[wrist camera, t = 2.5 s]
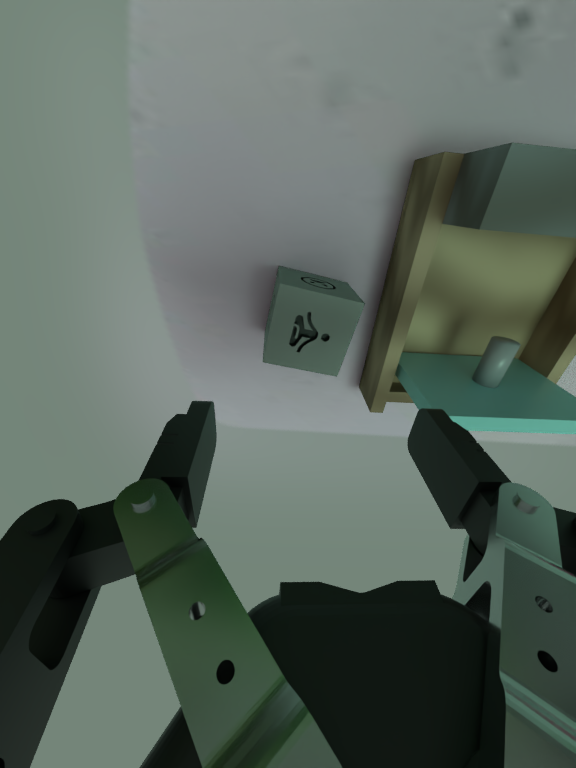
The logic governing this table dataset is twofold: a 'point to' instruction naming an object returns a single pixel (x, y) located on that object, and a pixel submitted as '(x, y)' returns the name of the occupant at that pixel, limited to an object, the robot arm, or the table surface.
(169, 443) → the robot arm
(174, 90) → the table surface
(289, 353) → the dice cube
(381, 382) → the pusher lane
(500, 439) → the table surface
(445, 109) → the table surface
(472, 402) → the bar
